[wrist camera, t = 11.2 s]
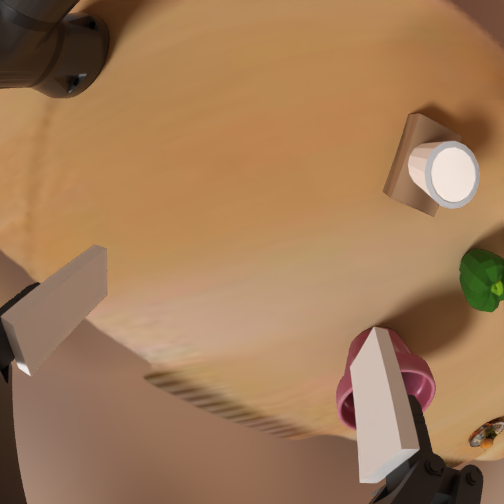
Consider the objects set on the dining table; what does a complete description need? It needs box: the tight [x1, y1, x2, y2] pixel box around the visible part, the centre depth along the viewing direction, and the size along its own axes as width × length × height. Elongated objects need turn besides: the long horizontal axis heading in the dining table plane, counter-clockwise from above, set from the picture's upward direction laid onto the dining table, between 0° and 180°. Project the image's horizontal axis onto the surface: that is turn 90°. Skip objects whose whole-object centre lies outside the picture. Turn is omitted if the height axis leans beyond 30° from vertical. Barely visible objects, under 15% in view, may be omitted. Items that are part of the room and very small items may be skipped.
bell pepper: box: [459, 249, 504, 312], centre depth 33 cm, size 8×8×10 cm
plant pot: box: [336, 327, 436, 431], centre depth 40 cm, size 14×14×13 cm
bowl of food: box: [469, 419, 504, 449], centre depth 49 cm, size 12×12×8 cm
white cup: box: [408, 141, 480, 209], centre depth 27 cm, size 7×7×7 cm
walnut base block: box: [383, 113, 462, 217], centre depth 32 cm, size 6×11×4 cm, turn 164°
